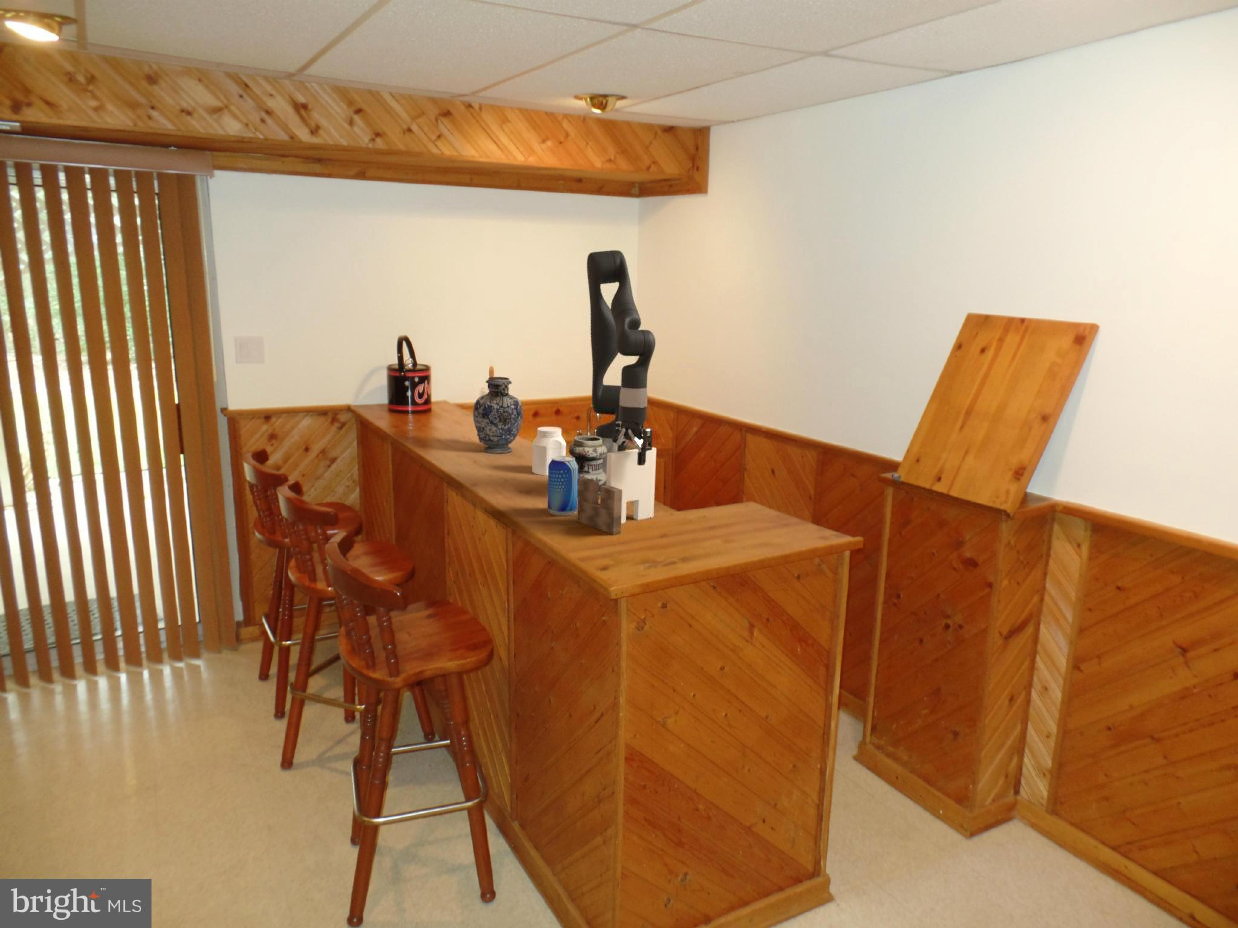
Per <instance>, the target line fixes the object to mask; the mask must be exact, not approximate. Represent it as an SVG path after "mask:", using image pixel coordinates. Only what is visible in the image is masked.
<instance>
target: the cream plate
mask: <svg viewBox="0 0 1238 928" xmlns="http://www.w3.org/2000/svg"><path fill="white" fill-rule="evenodd" d="M638 452H639V451H638V449H637V448H634V449H629V450H627V449H625V451H619V452H612V453H607V472H606V485H610V486H612V487H615V488H618V489H621V490H622V511H621V523H622V524H625V522H627V502H633V519H634V520H637V521H640V520H645V519H649V518H650V517H651V518H654V509H655V488H656V469H657V468H656V465H657V463H656V461H657V448H656V447H653V446H652V450H649V451H647V452H646V462H645V465H641V466H639V465H637V457H638ZM651 518H650V519H651Z"/></svg>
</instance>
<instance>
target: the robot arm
mask: <svg viewBox="0 0 1238 928" xmlns="http://www.w3.org/2000/svg"><path fill="white" fill-rule="evenodd" d="M586 273H587V274H586V275H587V285H588V293H589V305H590V307H589V308H590V310H589V312H590V346H591V347H590V349H591V359H592V360H591V363H592V376H591V377H592V379H591V383H592V384H591V386H592V387H591V403H592V404H591V405H592V410H593V412H594V413H595V414H599V415H610V416H611V415H612V416H614V418H613V420H611V421H609V422H606V423H604V424H600V425H598V426H596V428H595V436H596V437H600V438H601V439H602V443H603V445H604V446H605V447H606V449H607V453H612V452H619V451H626V450H627V449H626V448H627V447H626V444H627V443H628V441H630V442H632V443H633V445H634V446H636V449H638V451H639V452H638V457H637V465H639V466H641V465H645V462H646V452H647V451H649V450H652V447H653V428H649V427H648V428H647V427H645V425H644V423H646V421H647V418H648V417H647V415H648V414H647V413H648V372H649V369H650V365H651V361H652V358H653V355H654V353H655V349H656V337H655V335H654V332H652V331H651V330H649V329H640V328H641V325H642V321H641V317H640V313H639V310H638V308H637V306H636V303H635V300H634V295H633V289H632V283H631V280H630V279H631V278H630V274H629V267H628V264H627V261H626V257H625V255H624V253H623V252H622V250H618V249H617V250H615V249H612V250H602V251H601V250H600V251H592V252H590V253H589V254H588V255H587V258H586ZM615 283H618V287H617V290H616V292H615V294H614V295H613V298H612V300H611V303H610V306H609V305H608V303H607V301H606V300H605V298H604V296H603V293H602V289H601V285H606V284H615ZM619 354H620V355H621V356H623V357H638V358H637V359H636V361H635V362H634V363H631V364H630V363H629V364H627V365H624V366H622V368H621V374H620V375H621V379H620V381H621V382H620V385H617V384H616V385H612V384H604V378H605V376H606V374H607V372H608V370H609V368H610V366H611V365H612V364H613V362H614V361H615V359H616V357H617V356H618V355H619ZM602 469H603V472H604V473H605V475H606V472H607V454H606V455H605V456H604V457H603V468H602ZM605 485H606V481H605V482H604V483H603V484H602V485H600V486H599V492H601V486H605Z"/></svg>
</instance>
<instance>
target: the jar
mask: <svg viewBox="0 0 1238 928" xmlns="http://www.w3.org/2000/svg"><path fill="white" fill-rule="evenodd" d="M536 432H537V434H536V437H535V438H533V439H534V440H533V441H532V443H531V445H532V466H531V472H532V473H533V474H535V475H539V476H548V465H549V463H550V462H551V460H552V457H554V456H567V454H566V453H567V452H566V451H567V442H566V441H565V439H564V438H563V436H562V428H561V427H558V426H557V427H556V426H540V427H537V429H536Z"/></svg>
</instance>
